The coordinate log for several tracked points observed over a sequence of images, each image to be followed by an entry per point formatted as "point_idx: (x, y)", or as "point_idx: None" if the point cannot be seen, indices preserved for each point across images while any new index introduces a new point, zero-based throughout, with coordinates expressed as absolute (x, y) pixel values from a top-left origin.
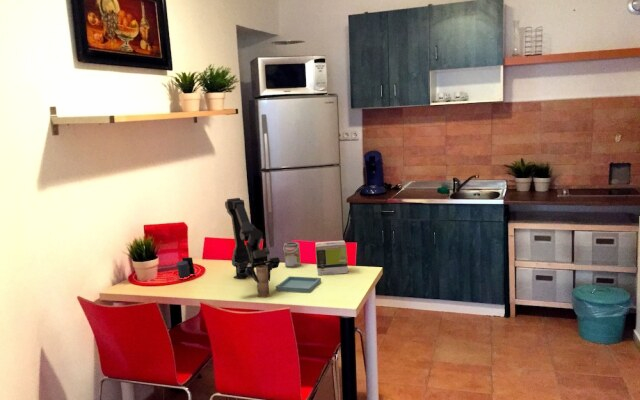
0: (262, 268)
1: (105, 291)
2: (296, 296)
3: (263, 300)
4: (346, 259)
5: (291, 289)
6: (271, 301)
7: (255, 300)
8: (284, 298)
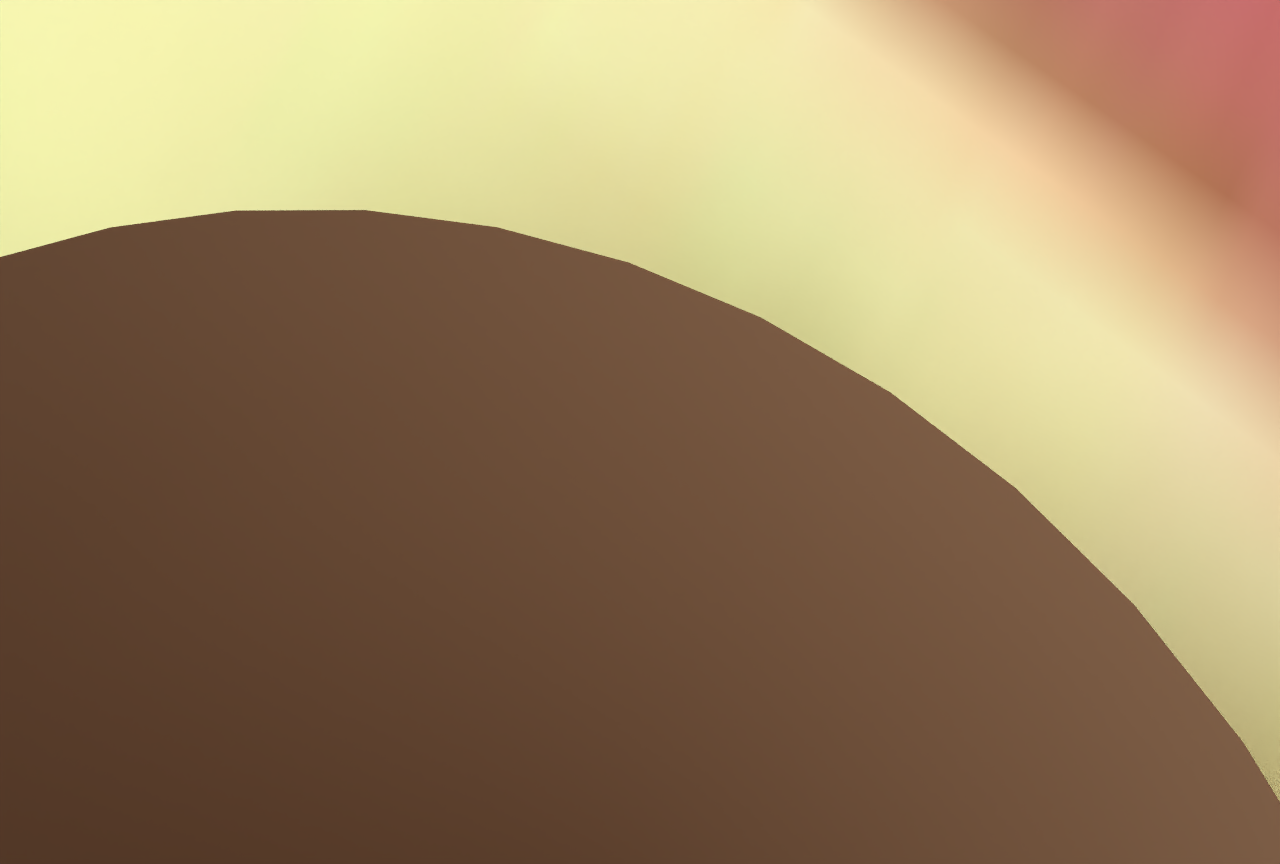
0: (593, 267)
1: None
2: (65, 27)
3: (936, 292)
4: None
5: None
6: (781, 66)
7: (1154, 457)
8: (376, 74)
